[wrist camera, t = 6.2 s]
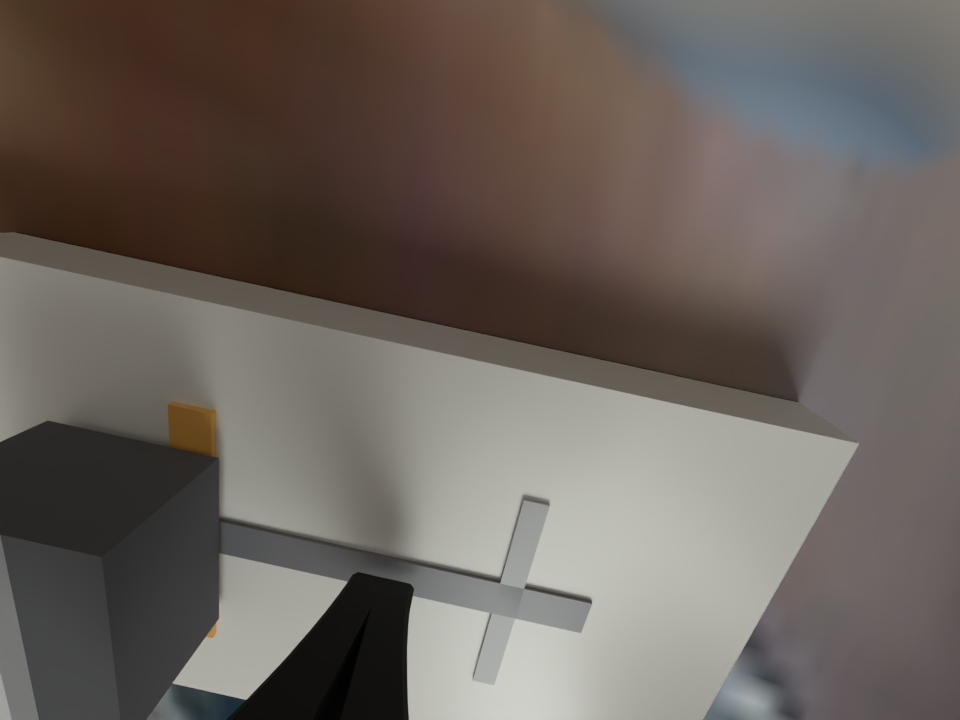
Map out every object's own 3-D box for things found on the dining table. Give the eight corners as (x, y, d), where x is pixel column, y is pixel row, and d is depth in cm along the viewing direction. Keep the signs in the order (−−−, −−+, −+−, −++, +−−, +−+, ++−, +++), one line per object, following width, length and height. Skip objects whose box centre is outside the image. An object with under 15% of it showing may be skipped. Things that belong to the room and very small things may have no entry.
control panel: (799, 402, 11) (865, 448, 9) (643, 718, 15) (663, 799, 13) (14, 232, 11) (-100, 237, 9) (68, 590, 15) (-2, 650, 13)
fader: (219, 458, 10) (78, 576, 7) (218, 618, 12) (106, 773, 8) (47, 420, 10) (-175, 520, 7) (72, 585, 12) (-96, 728, 8)
